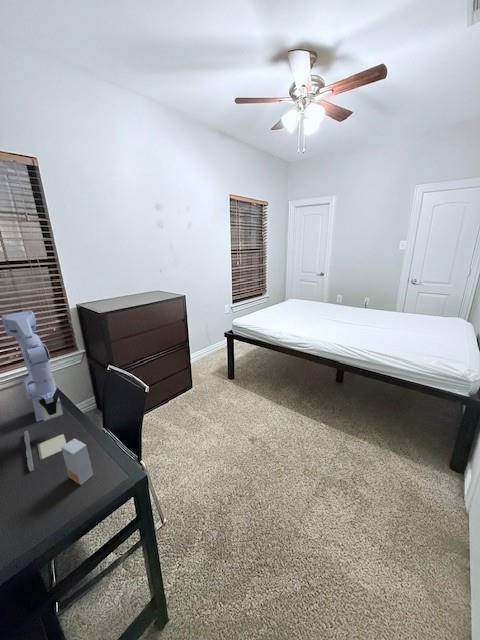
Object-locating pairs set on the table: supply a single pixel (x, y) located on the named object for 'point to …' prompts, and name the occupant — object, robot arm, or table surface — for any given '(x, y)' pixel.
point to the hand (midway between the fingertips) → (51, 410)
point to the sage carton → (58, 413)
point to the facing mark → (51, 446)
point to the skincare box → (77, 461)
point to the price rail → (28, 451)
